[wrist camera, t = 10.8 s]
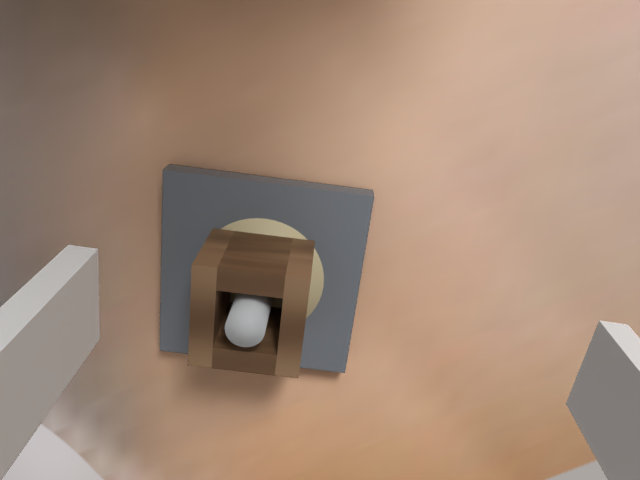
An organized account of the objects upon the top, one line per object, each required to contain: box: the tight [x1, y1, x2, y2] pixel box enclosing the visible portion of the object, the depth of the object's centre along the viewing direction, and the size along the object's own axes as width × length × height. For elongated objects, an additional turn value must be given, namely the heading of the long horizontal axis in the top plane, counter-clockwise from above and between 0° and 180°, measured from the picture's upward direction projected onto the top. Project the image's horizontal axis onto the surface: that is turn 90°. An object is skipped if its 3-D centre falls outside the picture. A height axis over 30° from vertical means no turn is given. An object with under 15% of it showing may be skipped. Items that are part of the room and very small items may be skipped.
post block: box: [160, 164, 374, 373], centre depth 37 cm, size 14×14×8 cm
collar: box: [188, 228, 315, 378], centre depth 37 cm, size 7×7×6 cm
